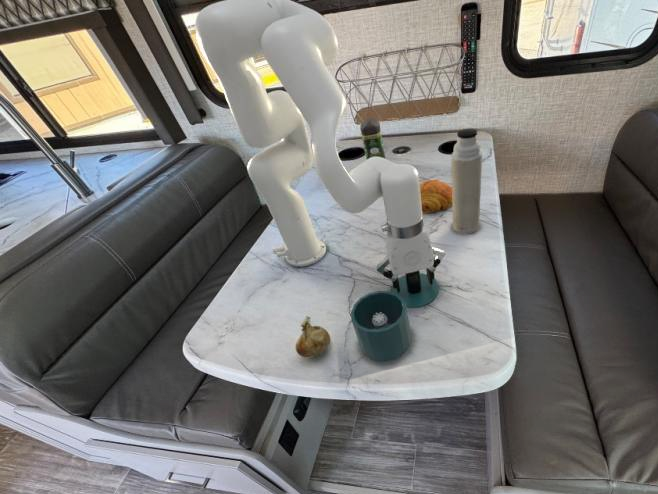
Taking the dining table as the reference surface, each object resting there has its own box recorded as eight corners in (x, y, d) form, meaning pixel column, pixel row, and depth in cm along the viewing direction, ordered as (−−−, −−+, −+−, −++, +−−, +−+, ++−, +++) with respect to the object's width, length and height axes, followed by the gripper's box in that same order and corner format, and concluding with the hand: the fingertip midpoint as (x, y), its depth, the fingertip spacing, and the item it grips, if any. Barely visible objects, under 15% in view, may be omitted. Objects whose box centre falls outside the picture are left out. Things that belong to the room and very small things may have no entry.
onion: (292, 356, 76) (279, 334, 71) (316, 332, 80) (306, 309, 75) (316, 370, 73) (304, 348, 67) (340, 344, 77) (330, 321, 71)
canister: (365, 368, 71) (354, 338, 64) (358, 329, 79) (348, 298, 72) (416, 355, 72) (411, 323, 65) (405, 317, 80) (399, 285, 73)
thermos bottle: (447, 229, 104) (444, 134, 84) (461, 217, 107) (461, 123, 88) (470, 236, 99) (472, 139, 80) (484, 223, 103) (489, 127, 84)
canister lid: (396, 314, 81) (392, 294, 76) (387, 282, 90) (382, 261, 85) (445, 302, 82) (444, 281, 77) (431, 271, 91) (429, 250, 86)
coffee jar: (368, 164, 146) (359, 118, 133) (386, 162, 145) (379, 115, 132) (368, 174, 139) (358, 127, 126) (387, 171, 138) (379, 123, 125)
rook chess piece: (377, 350, 74) (370, 327, 68) (373, 335, 77) (366, 312, 71) (396, 344, 74) (391, 321, 68) (392, 330, 77) (386, 306, 72)
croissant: (409, 218, 115) (404, 198, 109) (421, 190, 123) (417, 170, 117) (450, 219, 110) (448, 199, 104) (460, 190, 118) (458, 170, 112)
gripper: (368, 244, 69) (382, 303, 81) (450, 225, 70) (451, 286, 82) (364, 225, 74) (378, 283, 86) (439, 207, 75) (442, 268, 87)
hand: (414, 284), depth 84 cm, fingers open, 7 cm apart
